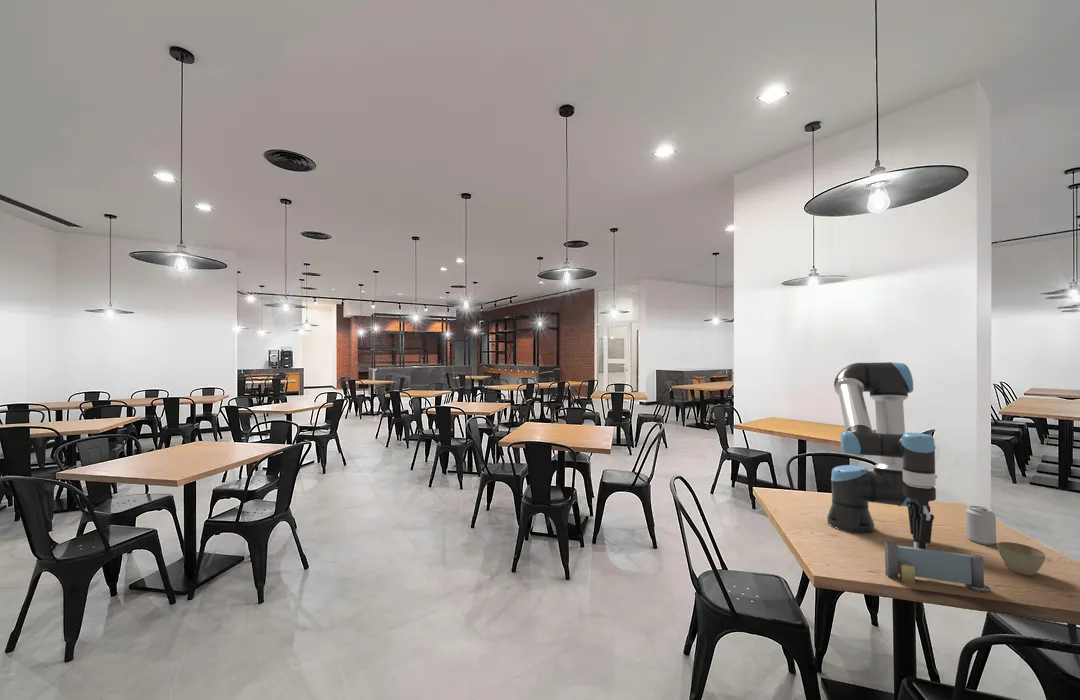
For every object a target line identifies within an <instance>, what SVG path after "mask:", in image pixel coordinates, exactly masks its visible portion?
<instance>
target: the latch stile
mask: <svg viewBox="0 0 1080 700" xmlns="http://www.w3.org/2000/svg"><path fill="white" fill-rule="evenodd" d="M898 546H899V544H897V543H896V542H895V541H888V540H885V541H884V559H885V562H884V565H885V575H886V576H887V577H888V578H889V579H896V580H900V581H901V582H902V583H907V584H916V577H915V567H914V566H913V565H912V564H911V563H903V562H899V574H898Z"/></svg>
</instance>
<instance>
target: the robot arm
mask: <svg viewBox="0 0 1080 700" xmlns="http://www.w3.org/2000/svg"><path fill="white" fill-rule="evenodd" d="M833 386H834V387H833V388H834V391H835V393H836V395H837V396H838V397H839V403H840V408H841V413H842V417H843V423H844V428H845V431H841V432H840V447H841V450H842V452H843V453H845V454H852V455H857V456H858V455H859V456H860V455H861V456H872V457H873V456H876V457H877V463H876V464H875V465H874V466H873V471H870V470H868V468H867V466H864V465H856V464H846V465H845V464H843V465H838V466H835V467H833V468H832V469H831V478H830V480H831V506H830V508H829V511H828V514H827V516H826V519H827V520H826V522H827V521H828V523H829V524H831V525H832V526H834V527H833V528H835V527H837V528H839V529H838V530H840V529H842V530H841V531H843V530H846V531H845V532H848V531H849V532H848V533H853V532H854V533H855V534H872V533H874V532H875V529H876V528H875V523H874V520H873V517H872V515H871V513H870V509H869V503H874V504H882V505H888V506H889V505H890V506H897V507H907V514H908V523H909V530H910V531H909V533H910V534H911V535H912V540H913V548H921V549H928V544H931V539H932V531H933V523H934V519H935V516H934V514H932V513H931V506H930V505H929V502H934V501H935V500H937V490H936V489H937V488H936V487H935V486H936V479H937V478H938V475H937V474H936V449H937V448H936V447H937V446H936V443H935V438H934V436H933V435H931V434H926V433H921V432H906V427H905V425H906V424H905V409H904V402H905V400H907V399H908V398H909V394H911V393H913V391H914V379H913V375H912V372H911V370H910V368H909V366H908V365H907V364H905V363H903V362H893V361H892V362H888V361H887V362H855V363H852V364H849V365H847V366H845V367H843V368H842V369H841V370H840V371H839V372H838V373H837V375H836V376H835V379H834V383H833ZM864 392H866V393H869V397H870V399H873V400H874V405H875V406H874V407H875V408H874V409H875V423H876V424H875V427H876V432H873V429H872V425H871V419H870V417H869V413H868V412H869V411H868V409H867V405H866V401H865V398H864ZM828 523H827V524H828ZM829 524H828V525H829ZM831 525H830V526H831ZM832 526H831V527H832ZM837 528H836V529H837Z"/></svg>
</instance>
